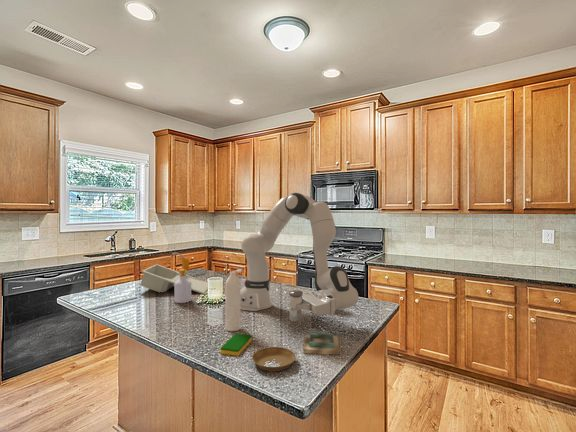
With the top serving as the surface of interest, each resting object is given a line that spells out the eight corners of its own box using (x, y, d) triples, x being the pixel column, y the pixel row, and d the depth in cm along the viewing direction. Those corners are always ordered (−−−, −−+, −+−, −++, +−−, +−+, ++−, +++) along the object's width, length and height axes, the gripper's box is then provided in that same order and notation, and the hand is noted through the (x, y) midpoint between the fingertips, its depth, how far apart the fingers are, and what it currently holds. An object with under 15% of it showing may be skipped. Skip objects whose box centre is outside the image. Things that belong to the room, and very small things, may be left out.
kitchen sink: (198, 310, 192) (212, 271, 191) (135, 288, 189) (149, 249, 189) (206, 298, 215) (219, 264, 215) (150, 279, 213) (163, 244, 213)
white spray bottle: (234, 332, 132) (234, 273, 131) (222, 329, 135) (222, 272, 135) (246, 325, 140) (246, 270, 139) (235, 323, 143) (235, 268, 142)
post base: (303, 353, 114) (303, 344, 114) (305, 338, 126) (305, 331, 126) (339, 355, 112) (339, 346, 112) (337, 340, 125) (337, 332, 125)
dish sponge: (252, 341, 125) (252, 335, 125) (238, 357, 111) (238, 350, 111) (235, 339, 126) (235, 333, 126) (219, 354, 113) (219, 348, 113)
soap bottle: (170, 302, 174) (170, 258, 174) (182, 298, 183) (182, 256, 182) (183, 304, 171) (183, 259, 170) (194, 299, 179) (194, 257, 179)
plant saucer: (242, 366, 104) (242, 358, 104) (269, 350, 116) (269, 343, 116) (278, 380, 96) (279, 371, 96) (303, 361, 108) (303, 353, 108)
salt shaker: (288, 321, 124) (288, 293, 124) (289, 316, 129) (290, 289, 129) (301, 321, 123) (302, 294, 123) (302, 317, 129) (303, 290, 128)
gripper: (311, 287, 141) (283, 290, 135) (336, 300, 122) (305, 304, 117) (311, 301, 141) (283, 304, 135) (336, 316, 122) (305, 320, 117)
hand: (293, 304), depth 126 cm, fingers closed on salt shaker, 5 cm apart
